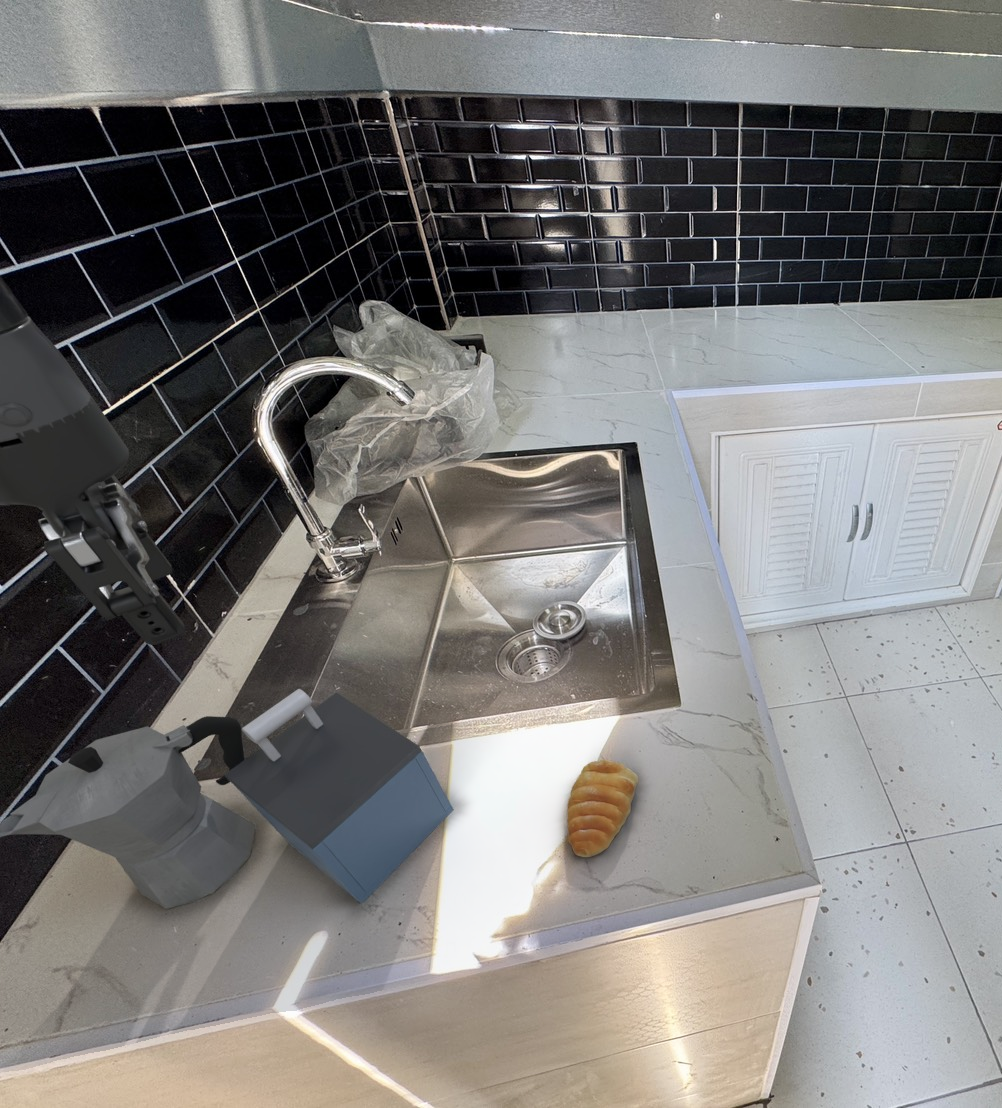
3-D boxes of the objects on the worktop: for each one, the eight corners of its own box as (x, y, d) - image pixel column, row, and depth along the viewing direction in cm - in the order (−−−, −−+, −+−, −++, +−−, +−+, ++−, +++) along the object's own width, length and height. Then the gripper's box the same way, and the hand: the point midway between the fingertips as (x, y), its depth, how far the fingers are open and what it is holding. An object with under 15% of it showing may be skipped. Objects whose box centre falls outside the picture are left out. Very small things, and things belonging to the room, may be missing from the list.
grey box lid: (227, 780, 54) (193, 743, 50) (339, 696, 61) (316, 660, 58) (312, 849, 49) (281, 815, 46) (422, 750, 57) (402, 714, 53)
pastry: (620, 864, 59) (615, 846, 57) (553, 857, 60) (546, 839, 57) (641, 777, 67) (638, 758, 64) (581, 772, 67) (576, 752, 65)
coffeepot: (124, 952, 53) (-38, 857, 41) (108, 873, 58) (-41, 769, 46) (317, 829, 61) (226, 723, 50) (288, 770, 66) (199, 661, 55)
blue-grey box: (287, 842, 60) (233, 784, 54) (382, 760, 68) (344, 700, 61) (361, 904, 56) (312, 849, 49) (454, 809, 63) (422, 751, 57)
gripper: (-73, 385, 38) (95, 578, 48) (-111, 478, 30) (102, 688, 40) (85, 357, 42) (209, 542, 52) (90, 433, 33) (237, 635, 44)
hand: (162, 605), depth 46 cm, fingers open, 8 cm apart
